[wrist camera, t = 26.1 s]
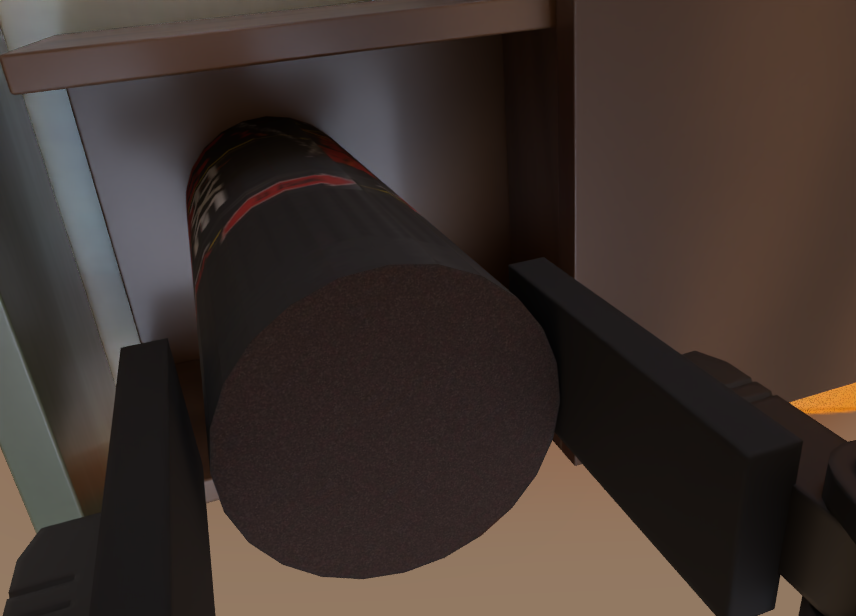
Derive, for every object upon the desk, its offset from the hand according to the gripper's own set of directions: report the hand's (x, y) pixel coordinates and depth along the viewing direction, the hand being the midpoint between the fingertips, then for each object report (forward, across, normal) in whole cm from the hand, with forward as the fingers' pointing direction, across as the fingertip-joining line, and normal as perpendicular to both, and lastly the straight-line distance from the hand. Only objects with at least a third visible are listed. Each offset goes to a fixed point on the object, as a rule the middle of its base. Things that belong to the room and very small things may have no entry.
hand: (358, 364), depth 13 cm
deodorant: (+13, 0, 0) cm, 13 cm away
